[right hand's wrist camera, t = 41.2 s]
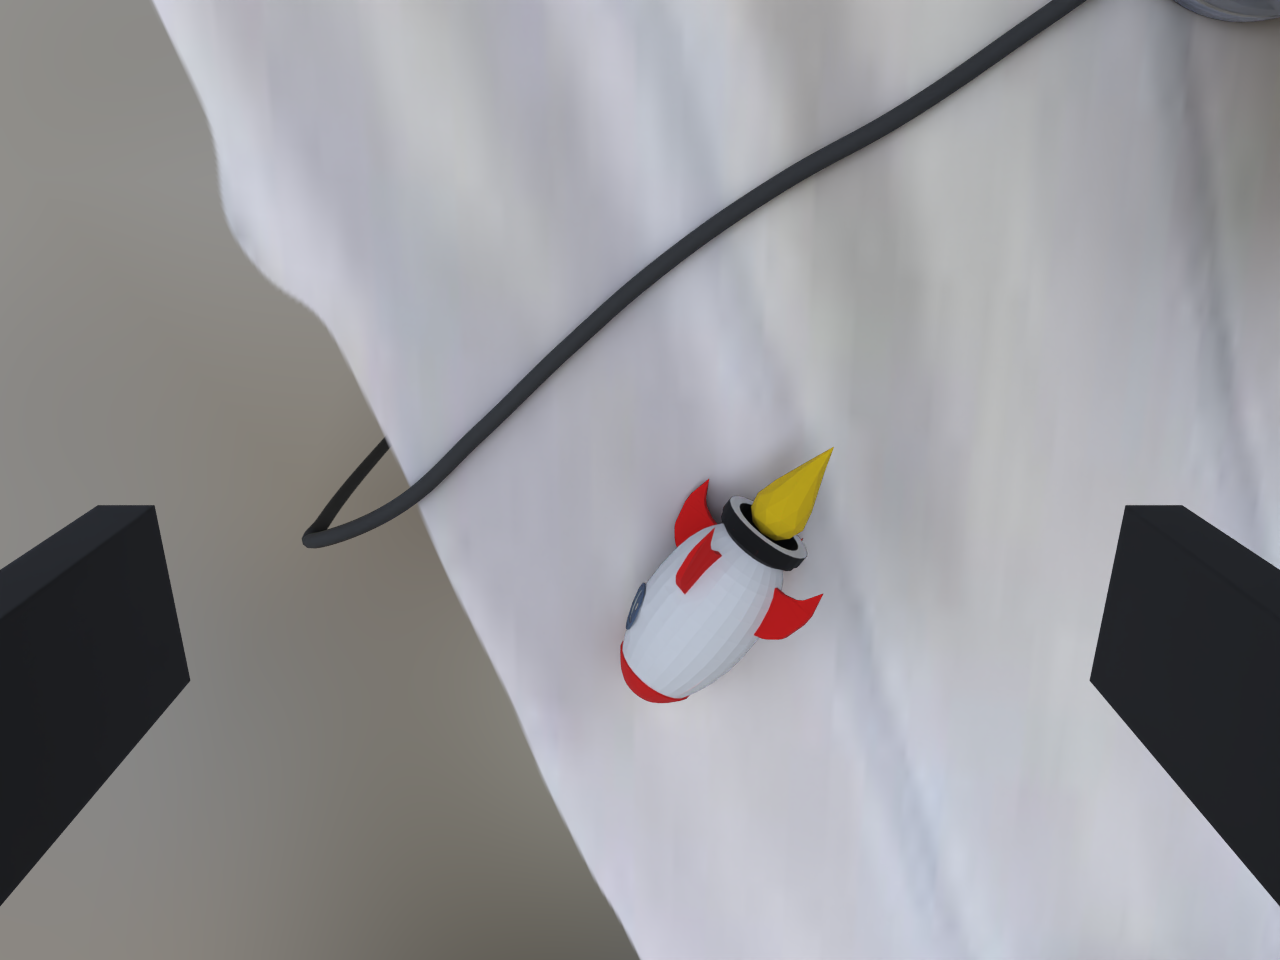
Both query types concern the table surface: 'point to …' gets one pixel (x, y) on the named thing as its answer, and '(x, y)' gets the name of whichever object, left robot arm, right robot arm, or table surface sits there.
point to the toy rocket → (720, 588)
